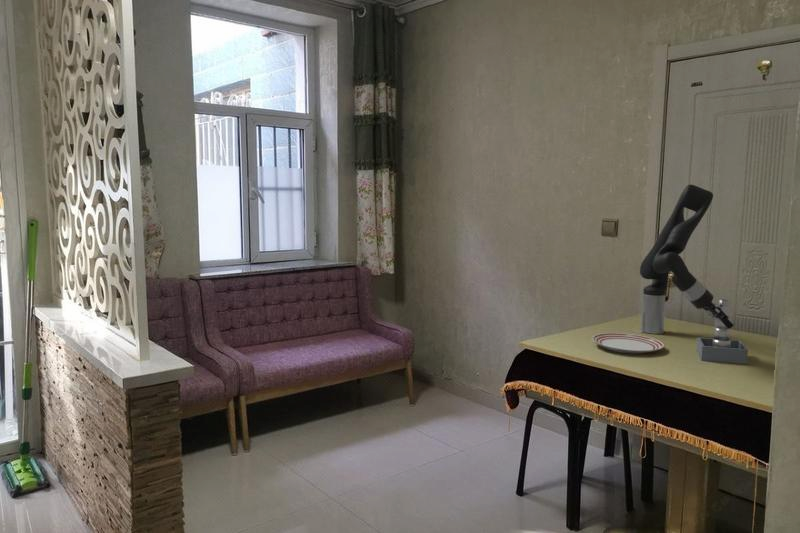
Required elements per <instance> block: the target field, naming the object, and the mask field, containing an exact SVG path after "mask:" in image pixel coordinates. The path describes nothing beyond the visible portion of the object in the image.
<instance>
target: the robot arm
mask: <svg viewBox="0 0 800 533" xmlns="http://www.w3.org/2000/svg"><path fill="white" fill-rule="evenodd" d="M713 199H714V193H713V192H711V191H710V190H707V189H704V188H702V187H699V186H697V185H694V184H687V185H686V186H685V188H683V190H682V193H681V194H680V196H679V198H678V200H677V202H676V205H675V206H674V209H673V211H672V213H671V214H670V216H669V218H668V220H667V222H666V223H665V225H664V226H663V228H662V229H661V232H660V233H659V235H658V238H657V239H656V241H655V243H654V244H653V246H652V247H651V249H650V250H649V252H648V253H647V254H646V256H645V257H644V258H643V261H641V264H640V268H639V274H640V276H641V278H642V279H646V280H654V281H653V282H651V284H649V285H646V286H644V288H643V291H642V293H643V294H642V295H643V296H642V309H641V326H640V327H641V328H640V330H641V333H646V334H655V335H656V334H657V335H658V334H659V335H660V334H664V329H665V310H666V293H667V289H668V283H669V282H668V281H669V276H670V275H669V274H670V272H672V273H673V276H672V277H671V282H672V284H674V286H675V287H676V288H677V289H678V290H679V291H680V292H681V293H682V295H683V296H684V298H686V300H688V301H689V302H690V303H691V304H692V305H693V306H694V307H695V308H696V310H697V309H698V310H702V309H703V311H704V312H706V313H707V314H708V316H710V317H711V318H712V319H714V317H715V318H718V319H719V320H720V321H721V322H722V323H723V324H724V325H725V326H726V327H727V328H729V329H730V330H731V328H733V327H734V323H732V322H730V321H729V320H728V318H729V317H728V316H727V315H726V314H725V313H724V312H723V311H722V310H721V309H720V307H718V306H719V305H717V304H716V303H713V302H712V301H713V300H714V295H713V294H712V293H711V291H710V290H708V288H707V287H705V286H704V285H703V283H701V282H700V281H699V279H697V278H696V277H695V276H694V275H693V274H692V273H691V272H690V271H689V269H688V266H687V265H686V263H685V261H684V260H683V258H682V257H681V256H680V255H681V253H683V252H684V250H685V249H686V247H687V245H688V242H689V240H690V238H691V236H692V234H693V233H694V231H695V230H696V228H697V227H698V225H699V223H701V221H702V219H703V218H704V216H705V214H706V212H707V211H708V209H709V208H710V205H711V203H712V201H713ZM685 209H688V210H691V211H692V212H695V213H694V214H693V215H692V216H691V217H689V218H688V219H686V220H685V214H684V213H685ZM722 315H723V316H724V317H723V318H721V316H722Z"/></svg>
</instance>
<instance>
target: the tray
mask: <svg viewBox="0 0 800 533" xmlns="http://www.w3.org/2000/svg"><path fill="white" fill-rule="evenodd" d="M713 339H714V337H712V338H709V337H697V339H696V340H697V341H696V345H697V346H696V352H697V355H698V356H699V358H700V361H702V362H714V363H723V364H724V363H726V364H737V365H738V364H739V365H746V364H747V365H748V358H749V349H748V348H747V346H745V344H744V343H743V342H742V341H741V340H739V339H730V341H731V348H724V347H712V341H713Z"/></svg>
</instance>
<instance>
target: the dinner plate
mask: <svg viewBox="0 0 800 533" xmlns="http://www.w3.org/2000/svg"><path fill="white" fill-rule="evenodd" d="M591 340H592V341H593V342H594V343H595V344H597V345H598V346H600V347H603V348H605V349H606V350H609V351H611V352H616V353H622V354H631V355H632V354H633V355H634V354H637V355H638V354H647V353H651V352H656V351H659V350H662V349H664V347H665V344H664V343H663V342H662V341H660V340H658V339H656V338H653V337H650V336H646V335H639V334H632V333H625V332H624V333H623V332H603V333H598V334H597V333H596V334H595V335H593V336H592V337H591Z"/></svg>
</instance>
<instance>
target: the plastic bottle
mask: <svg viewBox="0 0 800 533" xmlns="http://www.w3.org/2000/svg"><path fill="white" fill-rule="evenodd" d="M717 304H718V305H717V306H718V307H720V309H721V310H722V311H723V312H724V313H725V314H726V315H727V316H728V317H729V318H728V320H729V321H730V322H731V323H732V320H733V316H734V315H733V314H734V312H733V311H732V309H731V308H730V305H731V304H730V300H729V299H722V298H721V299H720V298H719V299H718V303H717ZM723 317H724V316H723V315H722V316H721V318H723ZM713 320H714V332H713V341H712V347H724V348H731V341H730V340H731V328H730V329H729V328H727V327H726V326H725V325H724V324H723V323H722V322H721V321H720V320H719V319H718V318H715V317H714V318H713Z"/></svg>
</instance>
